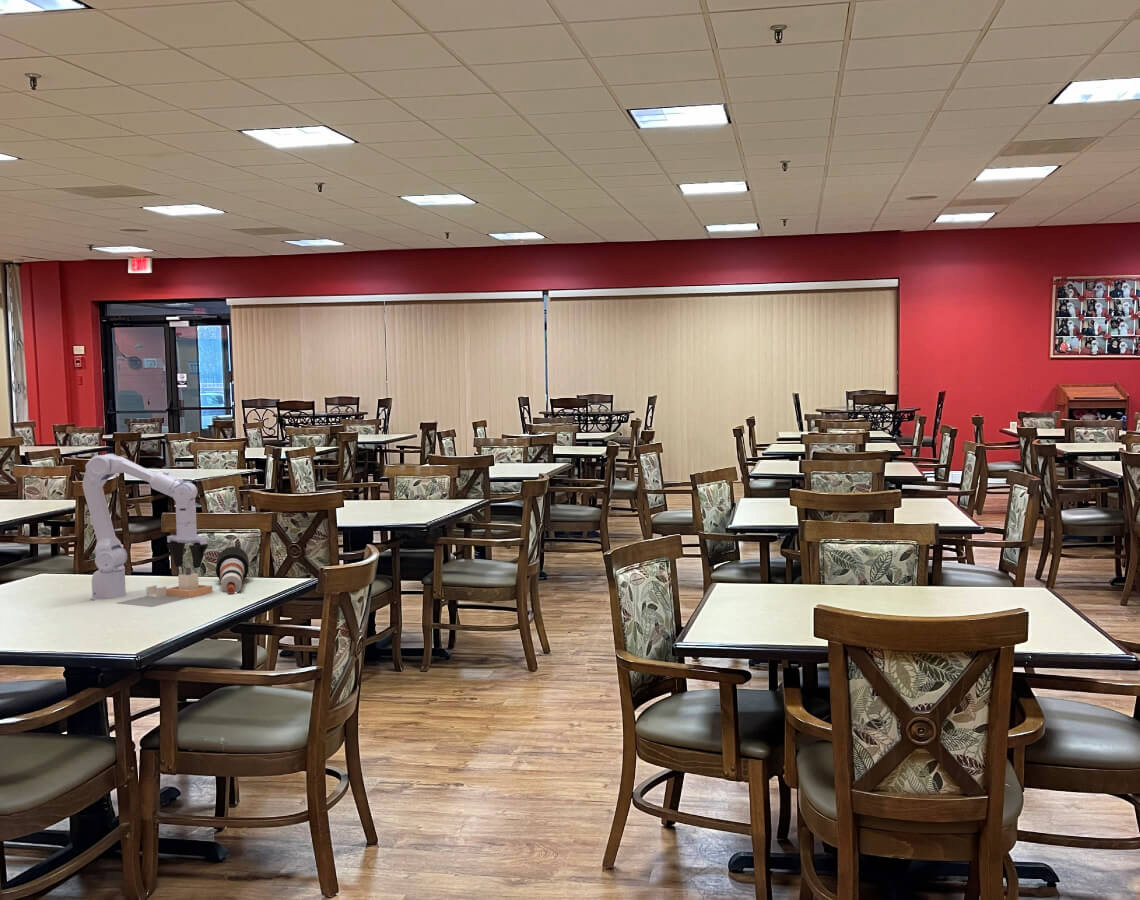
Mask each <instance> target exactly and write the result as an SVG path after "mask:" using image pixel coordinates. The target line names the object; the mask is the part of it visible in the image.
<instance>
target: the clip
mask: <svg viewBox="0 0 1140 900" xmlns="http://www.w3.org/2000/svg"><path fill="white" fill-rule="evenodd" d="M145 588H146V590H145V591H146V596H147V597H151V598H162V597H166V596H167V593H166V589H167V586H165V585H163V586H160V587H159V586H157V585H151V586H147V587H145Z"/></svg>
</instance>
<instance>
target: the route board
mask: <svg viewBox="0 0 1140 900" xmlns="http://www.w3.org/2000/svg"><path fill="white" fill-rule="evenodd" d="M208 594H209V593H207V594H206V595H208ZM204 595H205V594H203V595H202V596H204ZM199 596H201V595H199ZM199 596H198V597H199ZM196 597H197V596H195V597H194V598H196ZM191 598H193V597H191ZM191 598H190V599H191ZM187 599H189V598H187V597H177V596H166V597H162V598H151V597H147V595H146V596H145V595H144V596H140V597H136V598H132V599H127V600H123V601H119V602H116V604H120V605H130V606H137V607H147V608H154V607H159V606H162V605H166V604H170V603H174V602H180V601H182V600H187Z"/></svg>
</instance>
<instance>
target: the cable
mask: <svg viewBox="0 0 1140 900" xmlns="http://www.w3.org/2000/svg"><path fill="white" fill-rule="evenodd" d="M215 565H216V566H215V573H216V577H217V578H218V579H219V582H220V589H221V591H222V592H223V593H228V594H230V595H231V594H235V593H234V592H238V593H239V592H240V591H241V589H242V584H243V581H244V580H245V579H246V578H247V576H248V573H249V567H250V566H249V565H250V560H249V556H248V554H247V553H246V551H245V550H244V549H242V548H240V547H238V546H230V547H226V548H224V549H222V551H220V552H219V554H218V556H217V558H216V564H215Z"/></svg>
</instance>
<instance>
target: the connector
mask: <svg viewBox="0 0 1140 900" xmlns="http://www.w3.org/2000/svg"><path fill="white" fill-rule="evenodd" d="M184 571H185V573H181V574H179V575H177V576H178V577H177V578H178V586H179V589H181V590H193V589H197V588H199V585H200V584H199V573H194V572H192V568H191V567H190V566H189V567H185V569H184Z"/></svg>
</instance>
